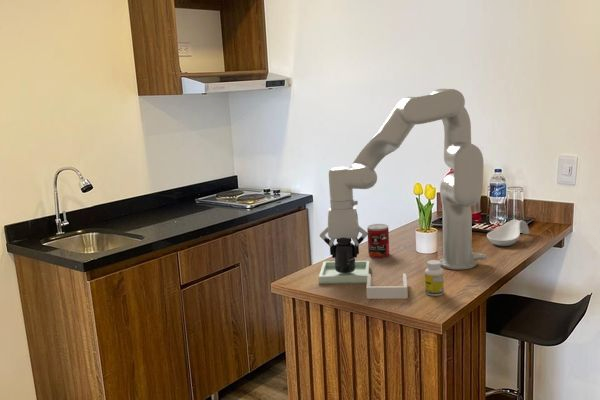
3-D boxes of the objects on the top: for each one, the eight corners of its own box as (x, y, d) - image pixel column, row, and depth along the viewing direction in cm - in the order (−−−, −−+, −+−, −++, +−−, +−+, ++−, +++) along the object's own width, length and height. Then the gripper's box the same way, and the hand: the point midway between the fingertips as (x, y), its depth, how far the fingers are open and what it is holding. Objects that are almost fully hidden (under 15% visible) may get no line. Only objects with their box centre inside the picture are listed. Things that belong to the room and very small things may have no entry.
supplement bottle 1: (354, 273, 191) (352, 238, 188) (334, 273, 192) (331, 238, 190) (356, 267, 197) (354, 233, 195) (336, 267, 199) (334, 233, 196)
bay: (406, 283, 183) (405, 273, 183) (407, 298, 171) (407, 287, 170) (368, 284, 185) (367, 273, 184) (366, 298, 173) (366, 287, 172)
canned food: (366, 257, 213) (364, 228, 211) (371, 251, 221) (370, 223, 219) (386, 258, 211) (385, 229, 208) (391, 252, 218) (390, 223, 216)
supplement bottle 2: (423, 290, 176) (422, 260, 175) (440, 289, 177) (439, 258, 175) (428, 297, 171) (427, 265, 169) (446, 295, 172) (445, 263, 170)
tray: (369, 267, 202) (369, 260, 201) (368, 283, 186) (367, 275, 186) (324, 268, 204) (323, 261, 204) (319, 283, 189) (318, 276, 188)
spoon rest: (511, 250, 211) (511, 231, 210) (481, 246, 219) (481, 227, 218) (537, 236, 227) (538, 218, 226) (509, 232, 236) (509, 214, 234)
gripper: (368, 201, 193) (371, 252, 196) (317, 203, 195) (320, 253, 199) (368, 206, 185) (370, 259, 189) (314, 208, 188) (317, 260, 191)
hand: (344, 256), depth 194 cm, fingers closed on supplement bottle 1, 6 cm apart
